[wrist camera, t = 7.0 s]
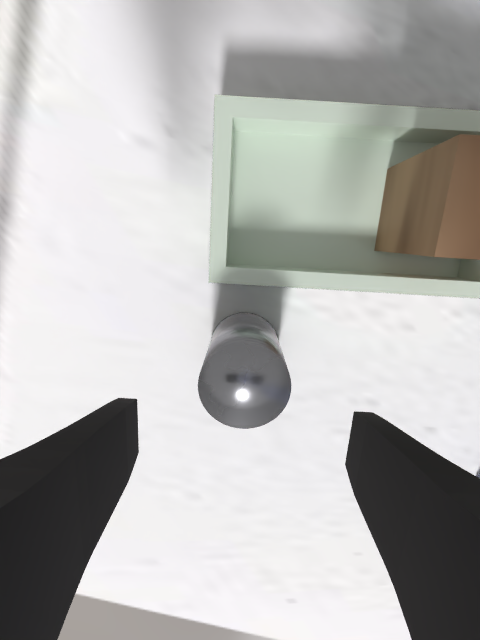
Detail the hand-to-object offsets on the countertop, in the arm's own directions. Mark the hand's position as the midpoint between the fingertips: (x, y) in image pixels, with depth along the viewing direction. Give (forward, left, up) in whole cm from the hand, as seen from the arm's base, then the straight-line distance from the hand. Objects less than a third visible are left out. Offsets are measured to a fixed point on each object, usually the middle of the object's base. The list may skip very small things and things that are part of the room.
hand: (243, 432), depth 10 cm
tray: (-5, -8, -9) cm, 13 cm away
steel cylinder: (0, 0, -9) cm, 9 cm away
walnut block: (-9, -8, -8) cm, 14 cm away
